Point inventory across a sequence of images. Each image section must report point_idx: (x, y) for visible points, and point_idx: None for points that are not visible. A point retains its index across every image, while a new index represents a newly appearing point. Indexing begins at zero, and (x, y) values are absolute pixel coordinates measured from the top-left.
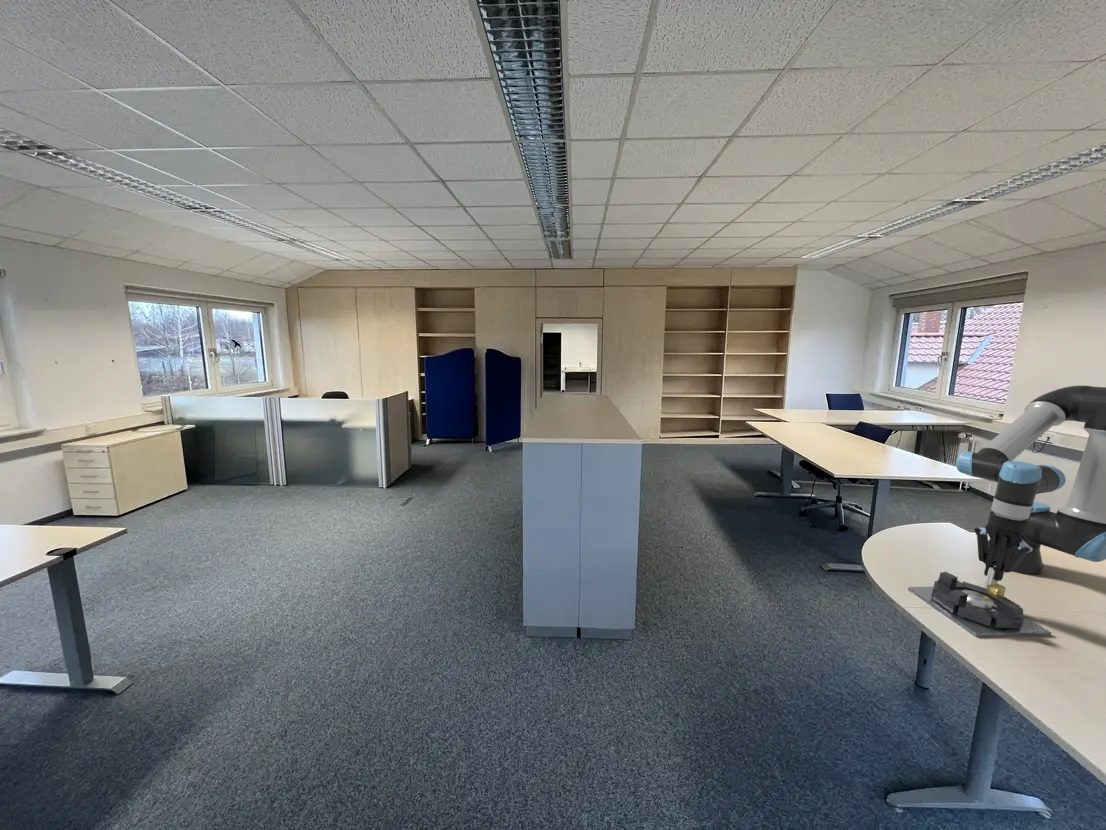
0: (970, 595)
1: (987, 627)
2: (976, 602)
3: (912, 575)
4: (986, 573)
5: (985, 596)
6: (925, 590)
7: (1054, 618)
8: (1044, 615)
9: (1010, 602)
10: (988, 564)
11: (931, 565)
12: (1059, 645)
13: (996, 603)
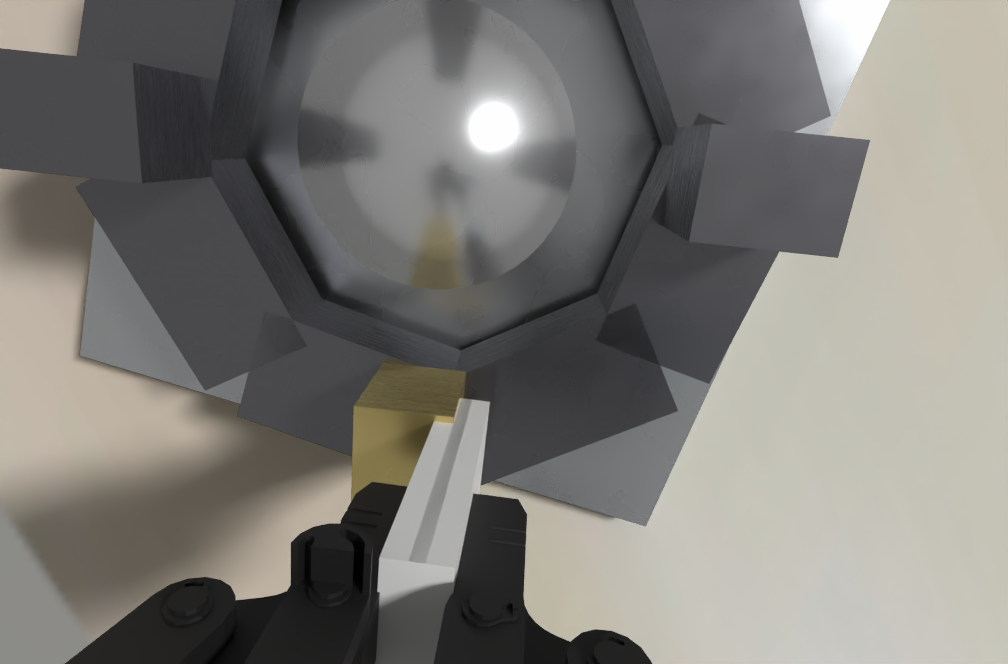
0: (478, 124)
1: None
2: (367, 13)
3: (1003, 285)
4: (497, 515)
5: (415, 270)
6: (811, 10)
7: None
8: (281, 591)
9: (296, 401)
10: (471, 610)
11: (969, 615)
12: (18, 275)
13: (373, 332)
